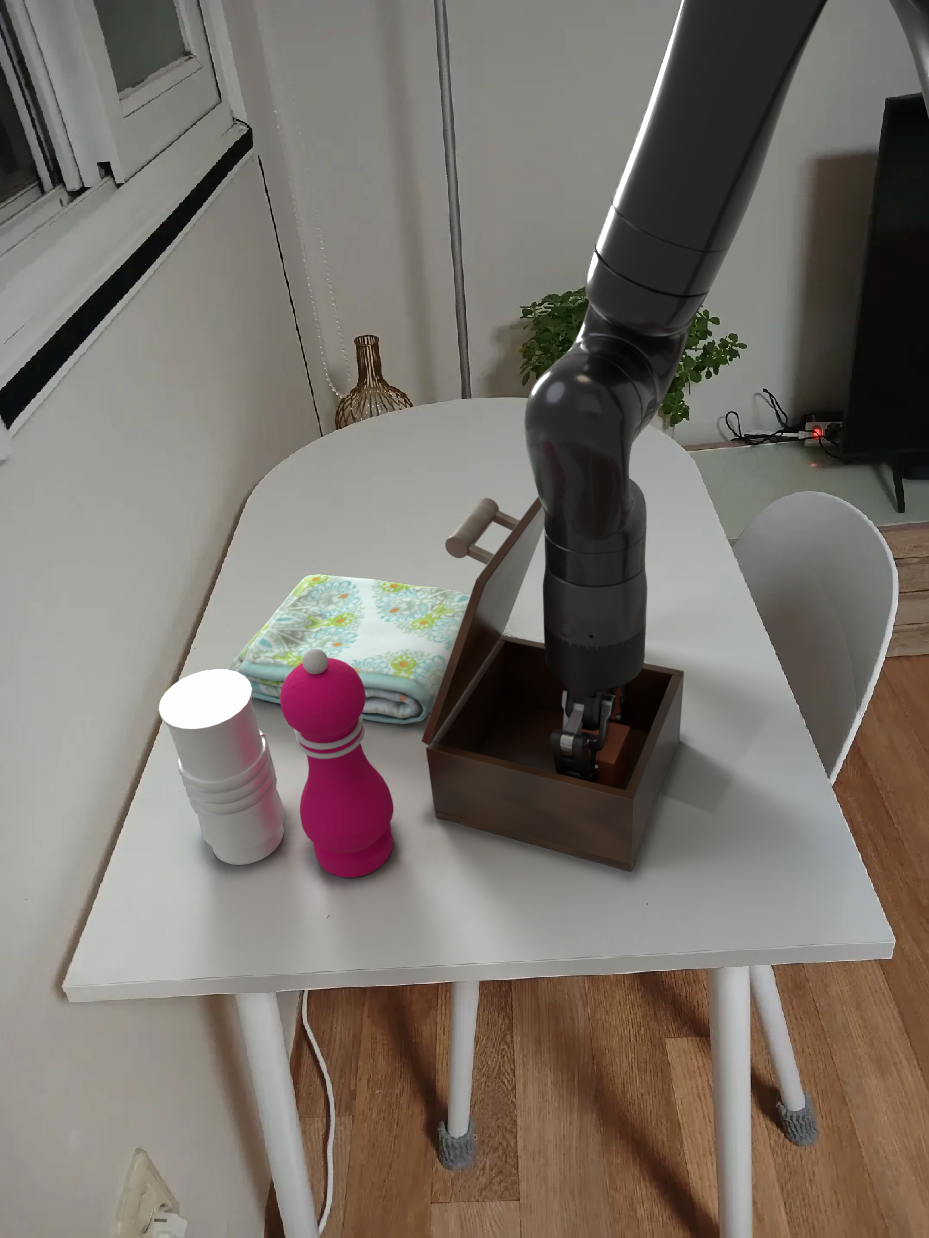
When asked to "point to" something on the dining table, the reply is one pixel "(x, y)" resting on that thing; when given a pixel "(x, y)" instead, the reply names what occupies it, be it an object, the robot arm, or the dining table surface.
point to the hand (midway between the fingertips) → (593, 776)
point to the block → (614, 756)
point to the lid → (485, 596)
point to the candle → (225, 764)
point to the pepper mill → (337, 767)
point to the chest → (549, 759)
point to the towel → (361, 641)
